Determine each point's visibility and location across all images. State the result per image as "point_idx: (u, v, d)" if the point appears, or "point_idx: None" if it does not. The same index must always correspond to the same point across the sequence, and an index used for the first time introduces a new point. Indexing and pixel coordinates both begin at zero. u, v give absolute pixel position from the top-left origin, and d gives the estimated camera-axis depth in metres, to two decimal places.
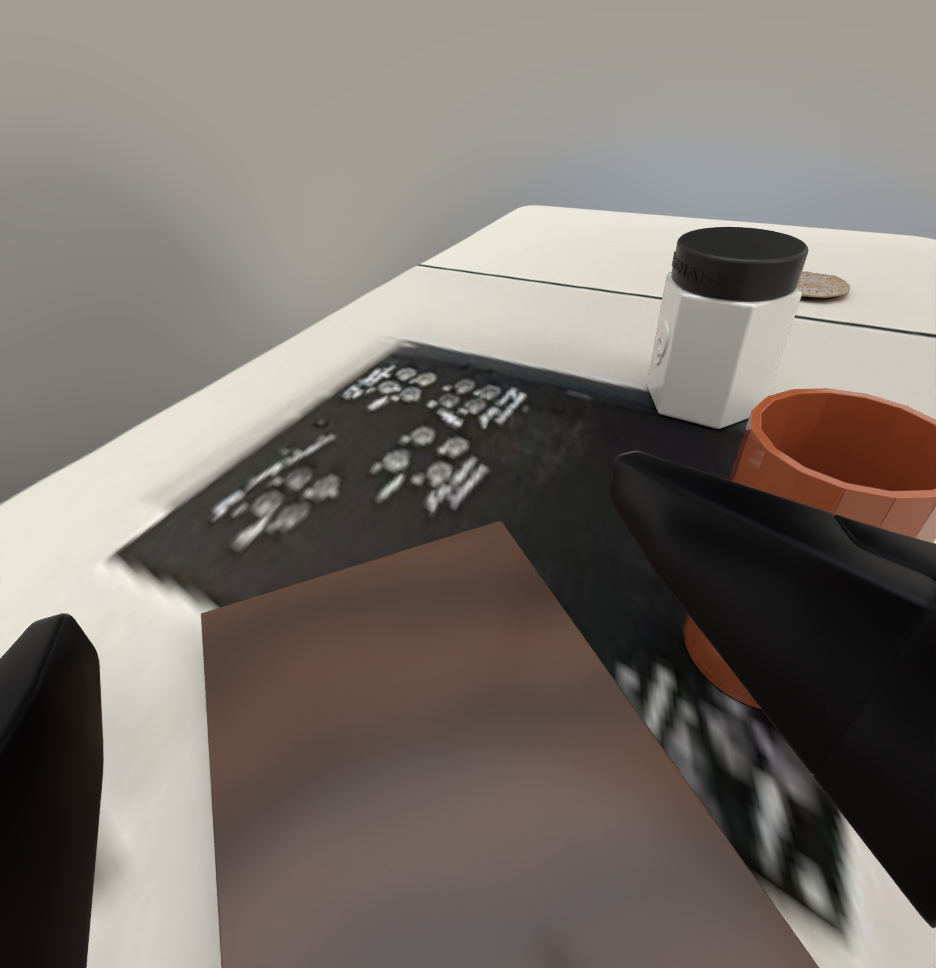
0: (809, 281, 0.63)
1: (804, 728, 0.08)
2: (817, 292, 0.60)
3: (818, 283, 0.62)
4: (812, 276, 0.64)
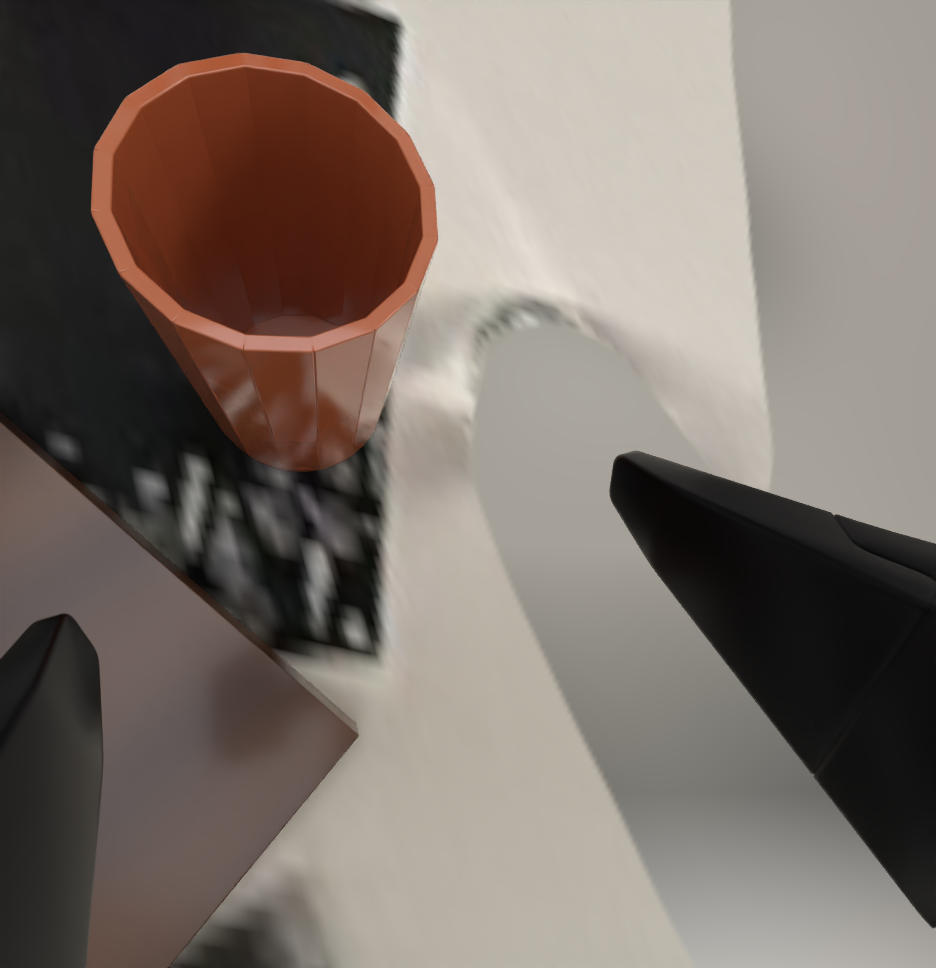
0: None
1: (804, 728, 0.08)
2: None
3: None
4: None
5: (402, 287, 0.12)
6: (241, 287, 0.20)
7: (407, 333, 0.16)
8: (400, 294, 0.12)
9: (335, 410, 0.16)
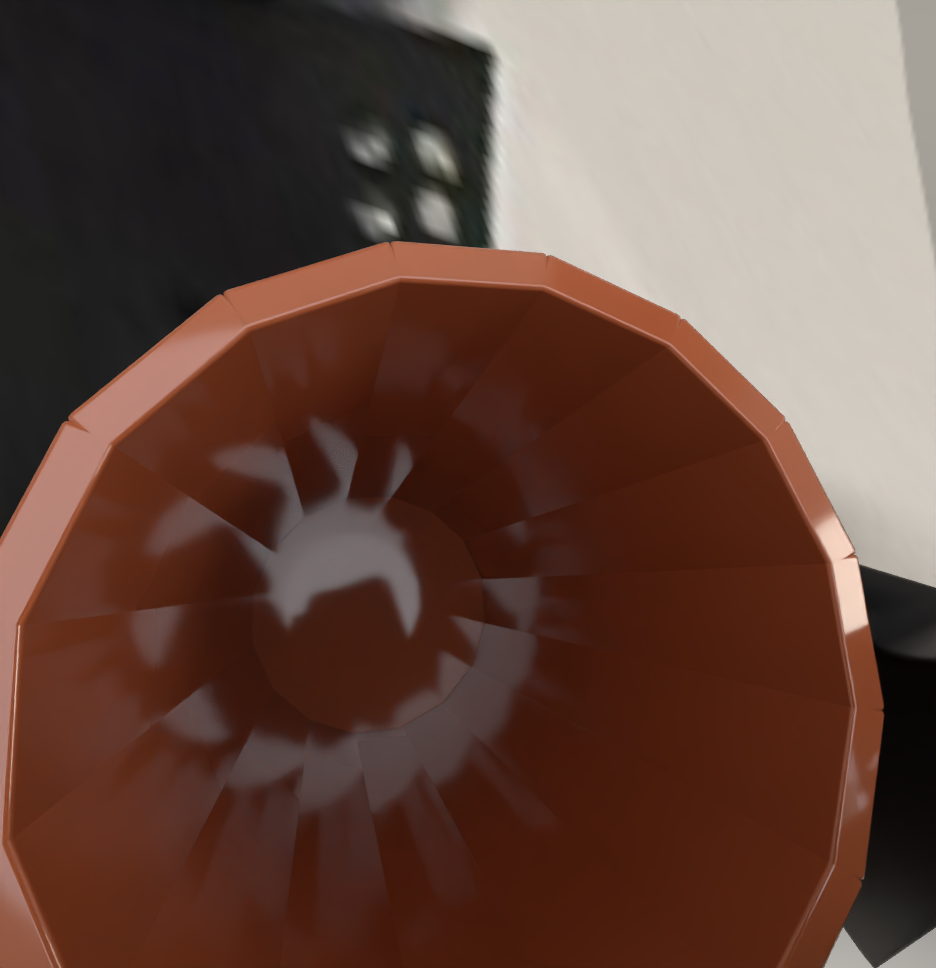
0: None
1: None
2: None
3: None
4: None
5: (832, 886, 0.04)
6: (296, 504, 0.12)
7: None
8: (830, 912, 0.04)
9: None
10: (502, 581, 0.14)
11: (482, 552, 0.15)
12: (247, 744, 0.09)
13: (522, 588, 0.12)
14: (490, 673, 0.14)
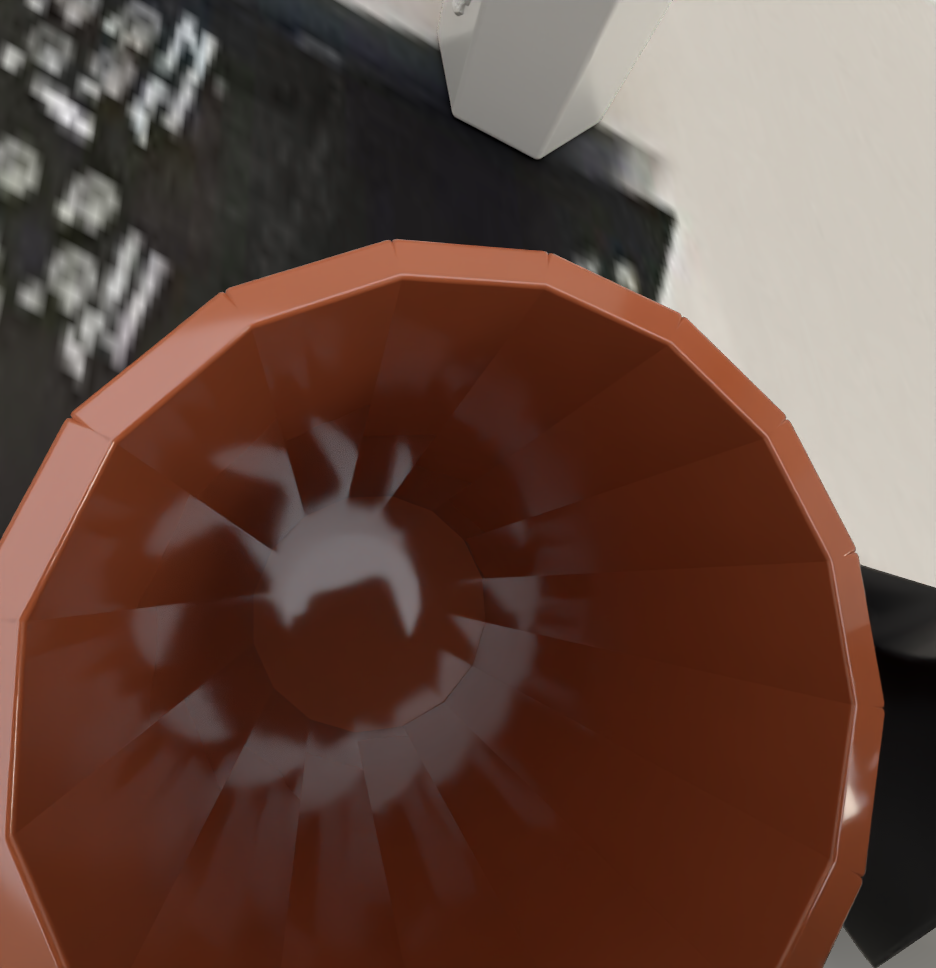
0: None
1: None
2: None
3: None
4: None
5: (832, 883, 0.04)
6: (296, 503, 0.12)
7: None
8: (830, 907, 0.04)
9: None
10: (502, 580, 0.14)
11: (482, 551, 0.15)
12: (248, 743, 0.09)
13: (522, 587, 0.13)
14: (491, 672, 0.14)
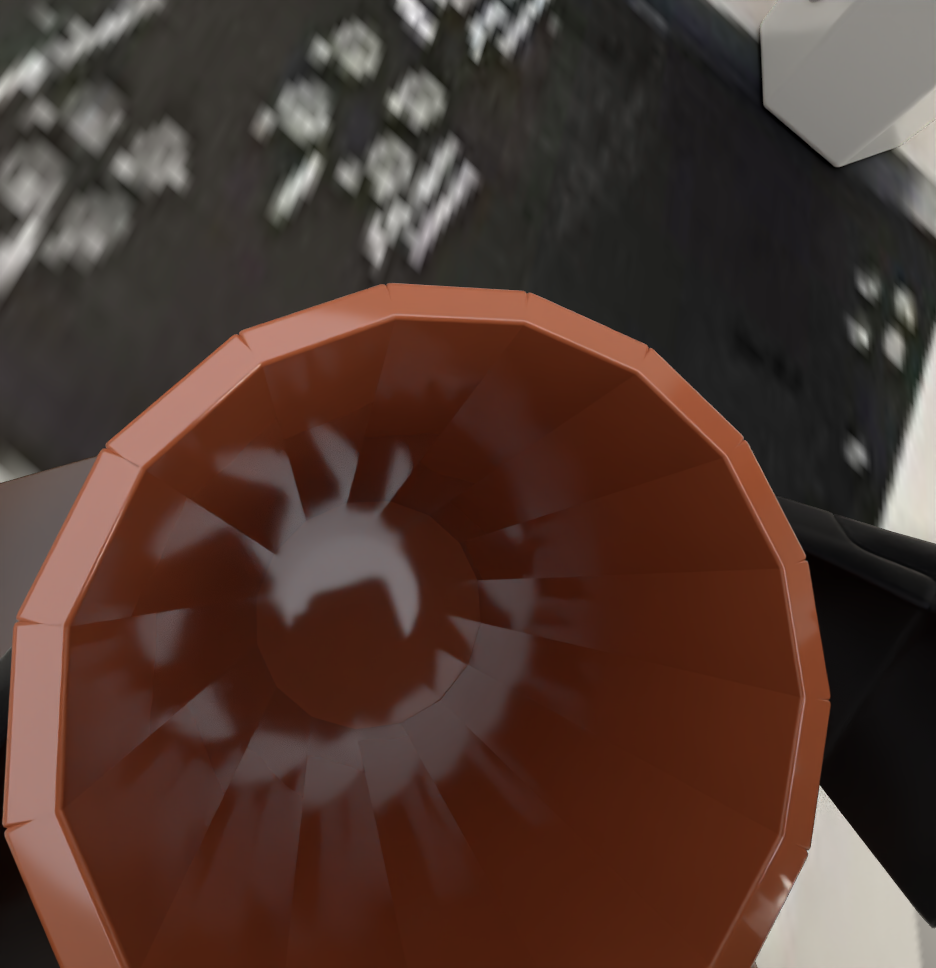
0: None
1: None
2: None
3: None
4: None
5: (780, 855, 0.05)
6: (298, 509, 0.13)
7: None
8: (778, 878, 0.05)
9: None
10: (496, 582, 0.14)
11: (477, 554, 0.15)
12: (253, 738, 0.10)
13: (515, 589, 0.13)
14: (486, 671, 0.14)
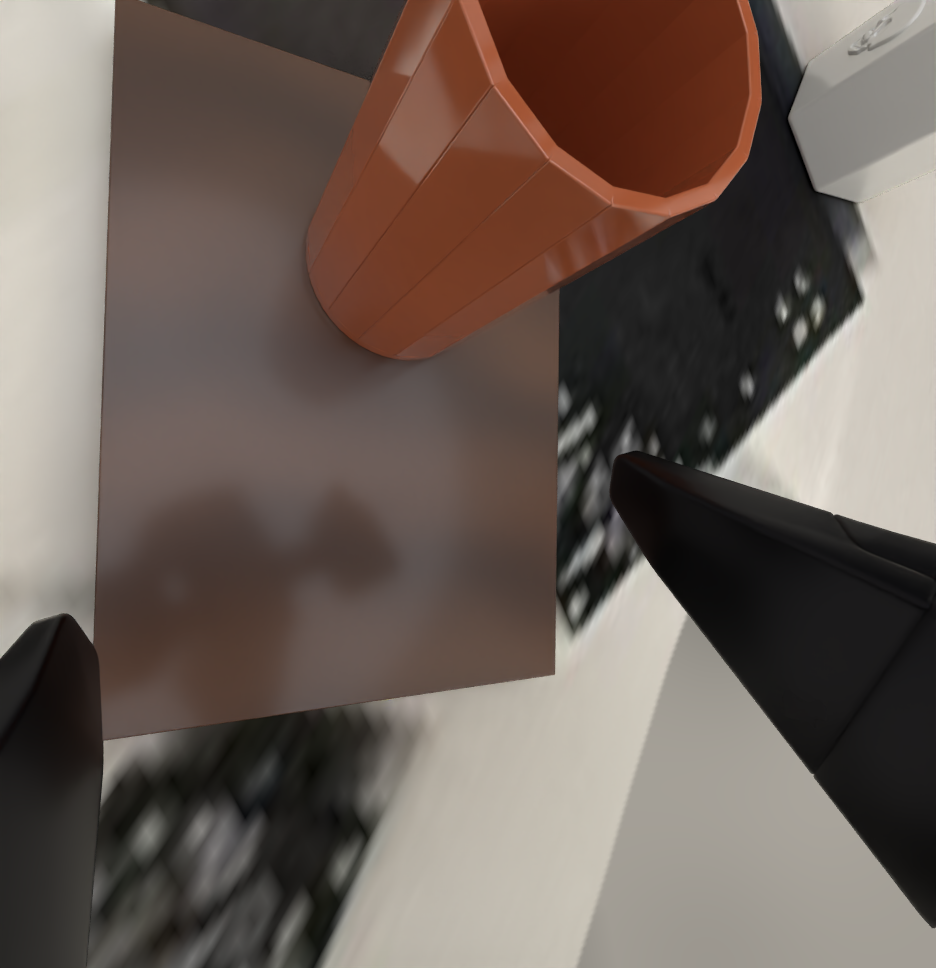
0: None
1: (804, 728, 0.08)
2: None
3: None
4: None
5: (706, 186, 0.10)
6: None
7: None
8: (702, 194, 0.10)
9: (505, 293, 0.14)
10: None
11: None
12: None
13: None
14: None
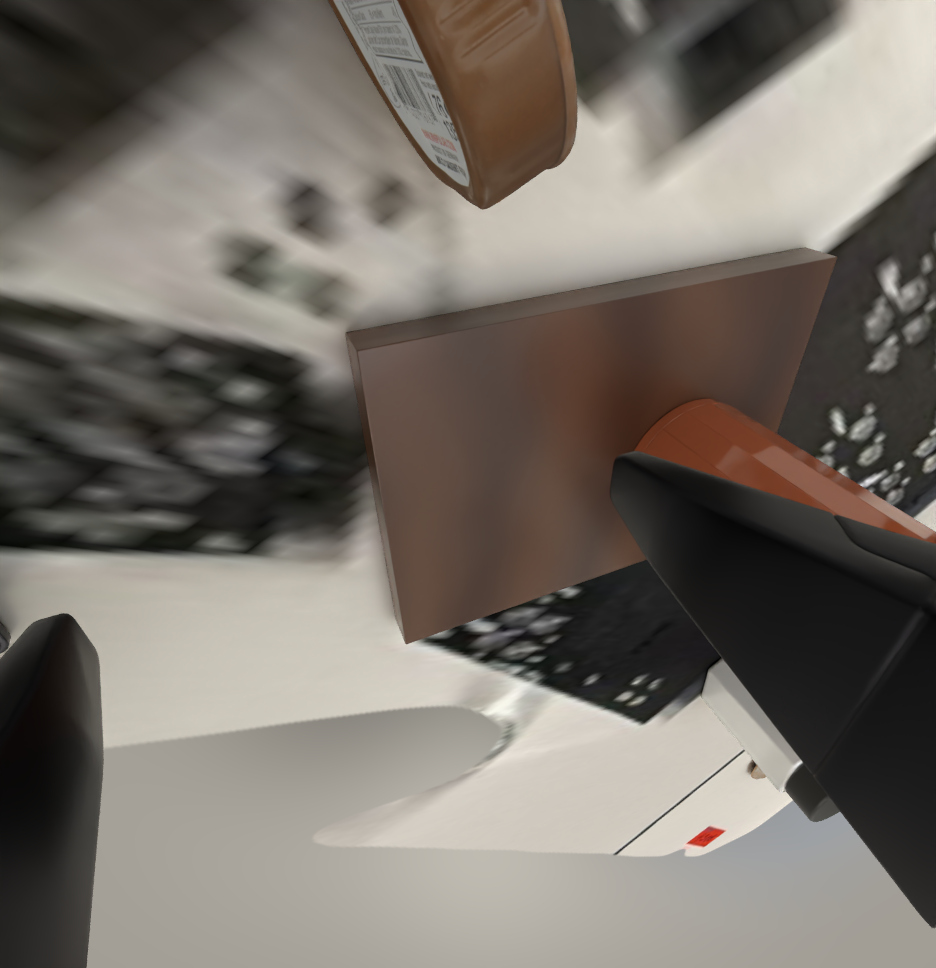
0: None
1: (804, 728, 0.08)
2: None
3: None
4: None
5: None
6: None
7: None
8: None
9: None
10: None
11: None
12: (769, 475, 0.23)
13: None
14: None
